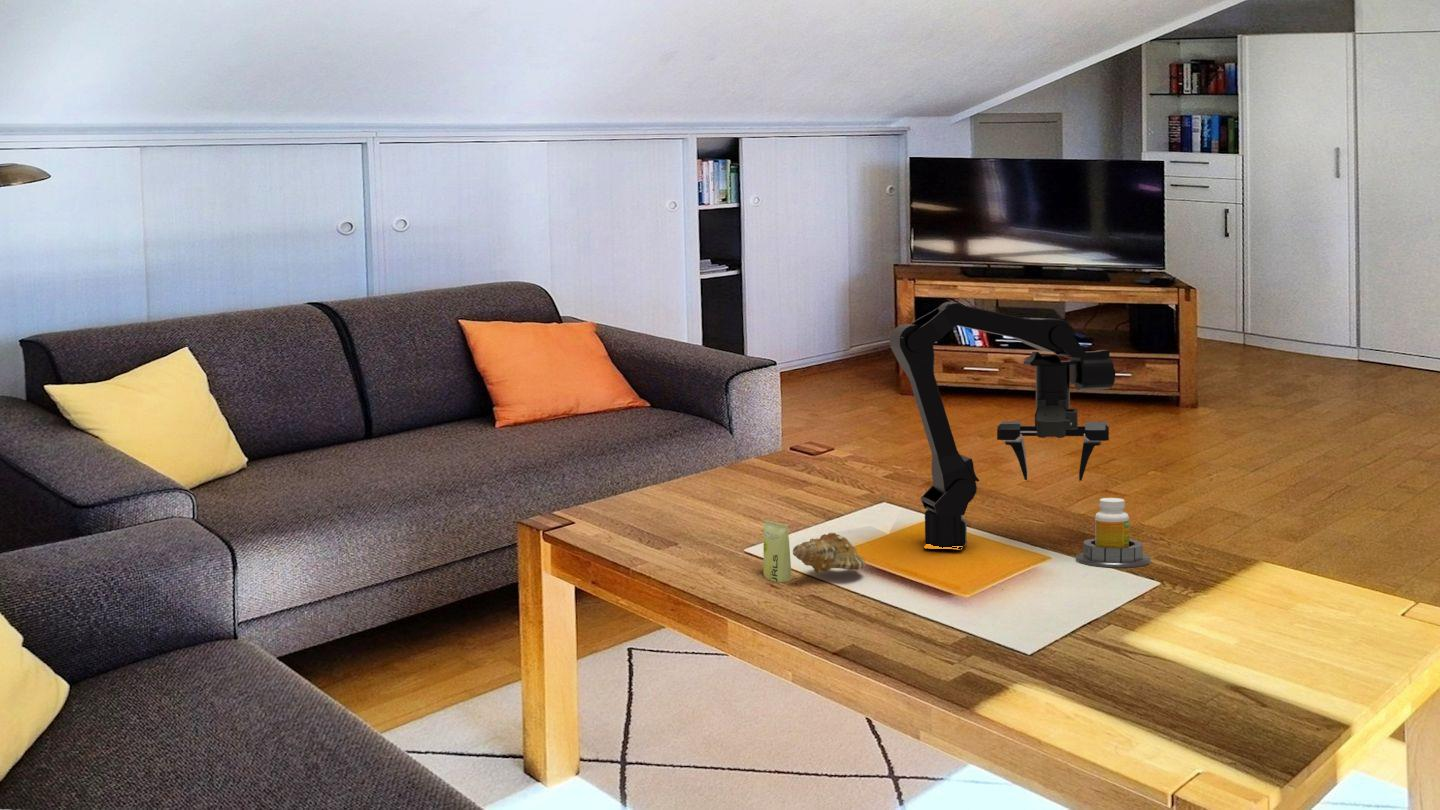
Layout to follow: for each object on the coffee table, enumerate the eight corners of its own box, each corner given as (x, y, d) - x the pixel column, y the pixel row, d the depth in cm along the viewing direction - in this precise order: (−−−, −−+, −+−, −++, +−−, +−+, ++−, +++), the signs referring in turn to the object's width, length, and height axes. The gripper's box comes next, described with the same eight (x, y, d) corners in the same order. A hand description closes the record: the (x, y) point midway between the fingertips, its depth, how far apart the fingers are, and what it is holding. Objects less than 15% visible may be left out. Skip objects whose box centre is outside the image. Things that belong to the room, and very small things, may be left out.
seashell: (844, 598, 215) (811, 551, 212) (812, 596, 222) (779, 551, 218) (876, 558, 220) (844, 512, 217) (843, 558, 226) (812, 513, 223)
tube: (756, 642, 220) (754, 523, 219) (766, 634, 225) (764, 518, 223) (789, 644, 218) (787, 524, 217) (799, 636, 223) (796, 519, 221)
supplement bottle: (1130, 560, 221) (1130, 502, 220) (1096, 560, 222) (1096, 502, 222) (1127, 554, 227) (1127, 497, 226) (1094, 553, 228) (1094, 496, 227)
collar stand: (1074, 566, 220) (1074, 549, 220) (1076, 552, 232) (1076, 535, 232) (1151, 569, 217) (1151, 551, 217) (1149, 554, 229) (1149, 537, 228)
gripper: (994, 395, 228) (994, 486, 230) (1108, 394, 223) (1108, 488, 225) (999, 389, 239) (999, 477, 240) (1108, 389, 234) (1108, 478, 235)
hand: (1053, 480), depth 235 cm, fingers open, 9 cm apart
